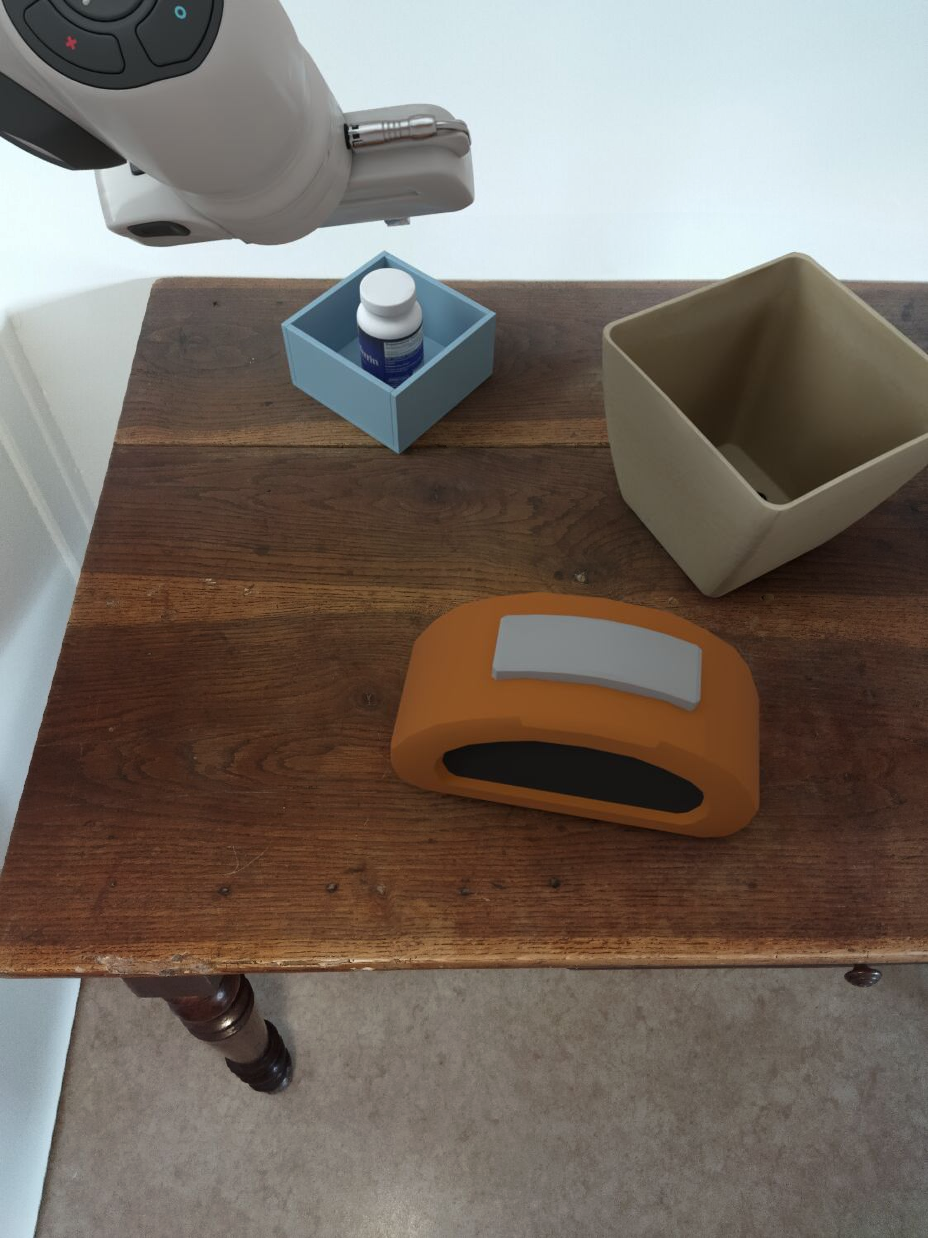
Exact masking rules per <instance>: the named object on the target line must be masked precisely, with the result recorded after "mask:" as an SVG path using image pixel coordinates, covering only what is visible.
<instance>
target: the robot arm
mask: <svg viewBox="0 0 928 1238" xmlns="http://www.w3.org/2000/svg"><path fill="white" fill-rule="evenodd" d="M0 138H1V139H4V140H5V141H6V142H8V143H10V144H12V145H14V146H15V147H17V148H18V149H19V150H22V151H24V152H26V153H28V154H30V155H32V156H33V157H36V158H38V159H40V160H42V161H45V162H46V163H49V164H51V165H54V166H56V167H60V168H62V169H66V170H68V171H73V172H77V171H93V172H94V178H95V185H96V189H97V190H96V191H97V194H98V199H99V204H100V207H101V212H102V215H103V219H104V223H105V227H106V228H107V229H108V230H109V231H110V232H112V233H113V234H115V235H117V236H120V237H123V238H127V239H129V240H131V241H133V242H135V243H137V244H140V245H142V246H144V247H151V248H170V247H177V246H183V245H192V244H199V243H201V244H202V243H209V242H217V241H231V240H233V239H234V240H240V241H242V242H243V243H244V244H245V245H250V244H251V245H253V244H254V245H257V246H258V245H259V246H281V245H286V244H290V243H294V242H297V241H299V240H301V239H303V238H305V237H307V236H309V235H310V234H312V233H313V232H315V231H317V229H323V228H330V227H331V228H332V227H340V226H348V225H349V226H350V225H355V224H356V225H357V224H364V223H373V222H381V221H382V222H384V223H385V225H386V226H387V228H391V227H399V226H401V227H402V226H410V225H411V218H415V217H424V216H431V215H438V214H447V213H456V212H459V211H463V210H465V209H466V208H468V207H470V206H471V205H473V203H474V202H475V197H476V195H475V193H476V192H475V177H474V165H473V156H472V148H471V146H472V142H473V140H472V137H471V131H470V129H469V128H468V125H467V123H466V121H464V120H463V119H459V118H455V116H454V115H453V114H452V113H451V112H450V111H448V110H447V109H446V108H444V107H442V106H440V105H437V104H432V103H406V104H400V105H392V106H384V107H378V108H369V109H363V110H355V111H354V110H353V111H348V112H344V111H343V109H342V108H341V105H340V104H339V102H338V100H337V99H336V96H335V95H334V93H333V92H332V90H331V88H330V86H329V85H328V82H327V81H326V79H325V77H324V75H323V74H322V73H321V71H320V68H319V67H318V66H317V64H316V62H315V60H314V59H313V57H312V55H311V54H310V53H309V52H308V51H307V49H306V48H305V46H304V45H303V44H302V43H301V41H300V39H299V37H298V34H297V32H296V29H295V27H294V25H293V23H292V20H291V19H290V17H289V14H288V13H287V11H286V10H285V8H284V6H283V4H282V3H281V1H280V0H0Z"/></svg>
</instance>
